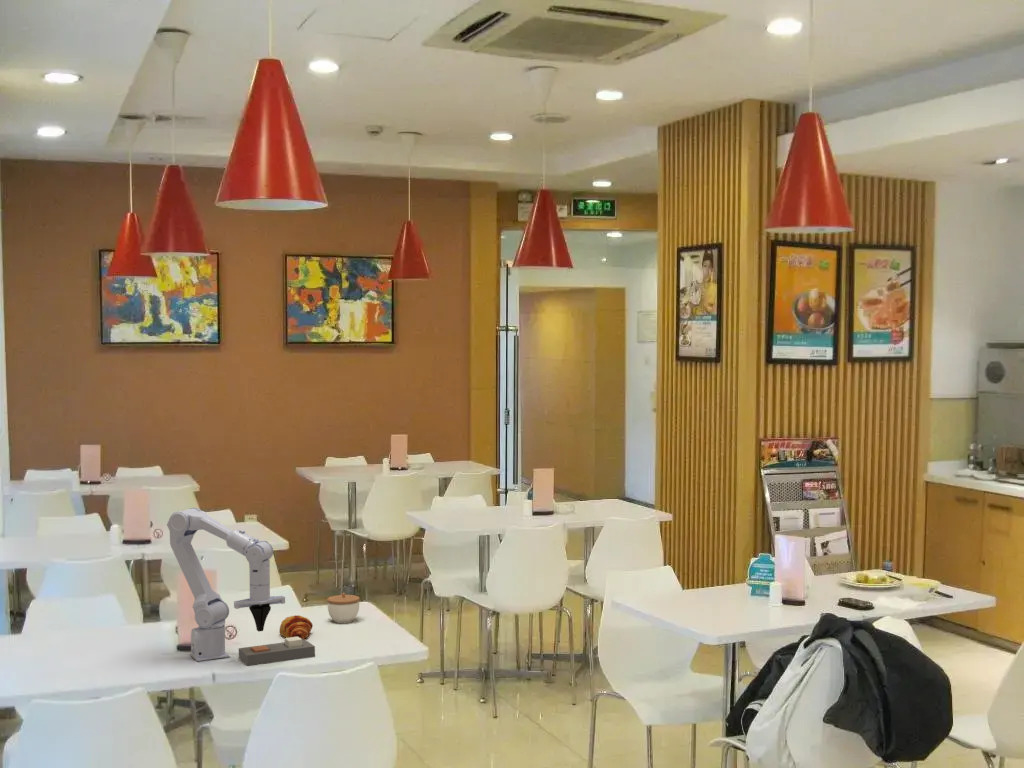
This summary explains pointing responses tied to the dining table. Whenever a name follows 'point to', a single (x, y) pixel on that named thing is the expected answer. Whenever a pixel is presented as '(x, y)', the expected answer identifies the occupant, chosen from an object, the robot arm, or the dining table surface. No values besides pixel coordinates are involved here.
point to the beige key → (293, 642)
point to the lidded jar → (343, 607)
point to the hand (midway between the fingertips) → (259, 630)
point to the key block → (276, 653)
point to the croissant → (296, 627)
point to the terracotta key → (259, 649)
